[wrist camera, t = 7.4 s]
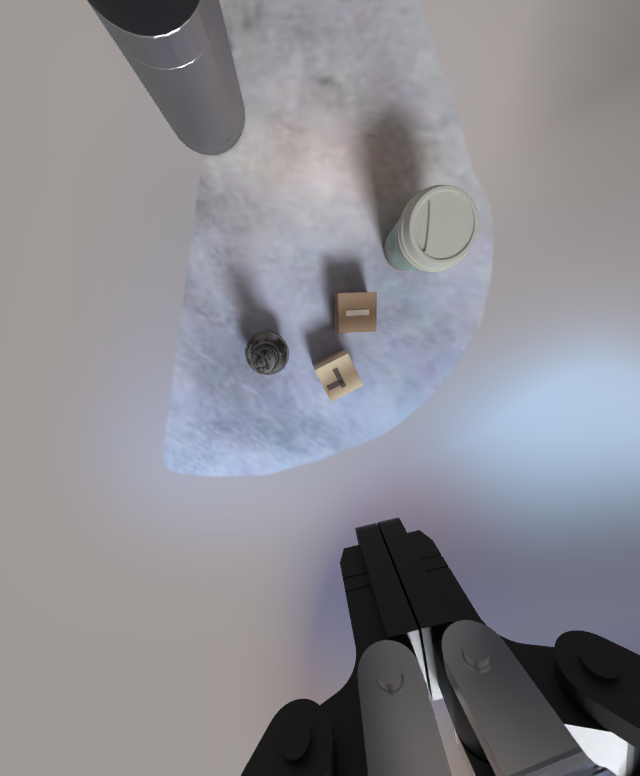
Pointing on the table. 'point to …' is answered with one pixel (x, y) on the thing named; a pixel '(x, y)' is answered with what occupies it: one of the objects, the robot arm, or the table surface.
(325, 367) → the beech block digit
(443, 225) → the coffee cup
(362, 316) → the walnut block digit
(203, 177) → the table surface
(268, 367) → the black chess piece
